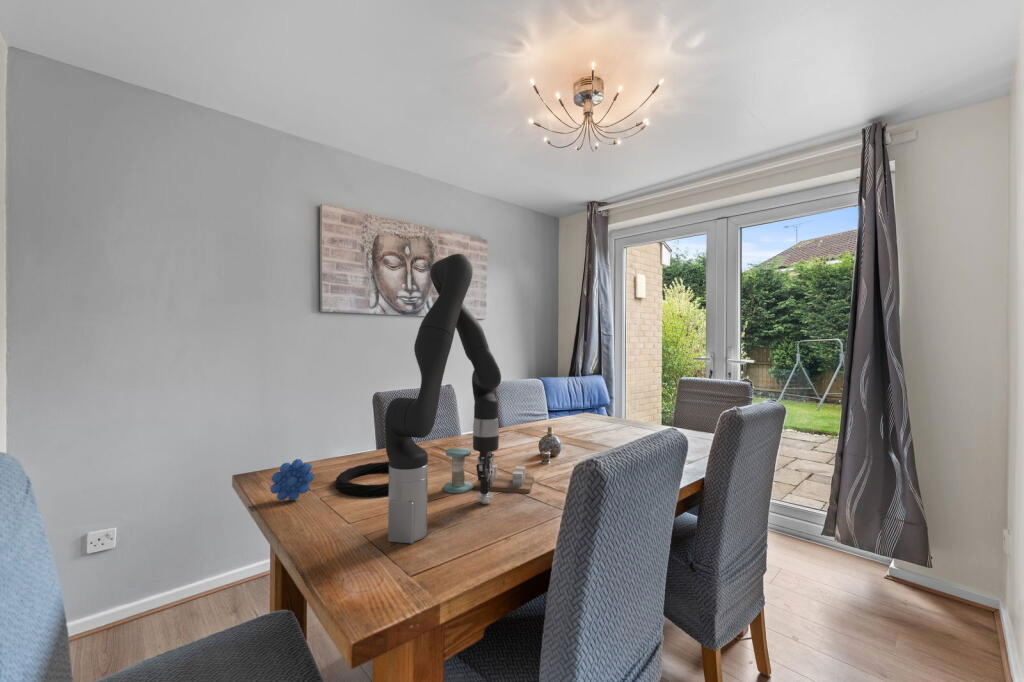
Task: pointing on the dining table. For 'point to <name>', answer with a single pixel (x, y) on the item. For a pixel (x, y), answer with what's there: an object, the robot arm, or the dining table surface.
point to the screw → (485, 497)
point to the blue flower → (292, 480)
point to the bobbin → (458, 471)
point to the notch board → (509, 481)
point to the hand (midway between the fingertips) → (485, 491)
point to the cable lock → (359, 488)
